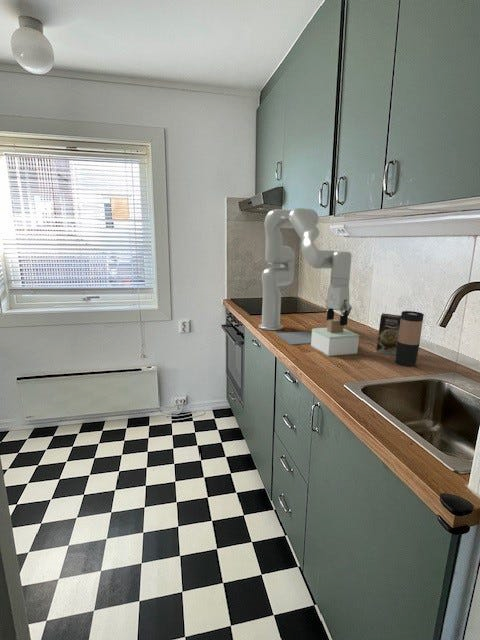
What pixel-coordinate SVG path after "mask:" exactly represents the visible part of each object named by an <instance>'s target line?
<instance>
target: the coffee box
mask: <svg viewBox="0 0 480 640" xmlns="http://www.w3.org/2000/svg"><path fill="white" fill-rule="evenodd" d="M400 320H401V314H400V315H399V314H391V313H384V312H383V313H381V315H380V321H379V328H378V333H377V335H378V336H377V341H376V350H375V353H377V354H379V353H380V354H384V355H391V356H396V350H397V341H398V334H399V327H400Z"/></svg>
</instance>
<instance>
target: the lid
mask: <svg viewBox="0 0 480 640" xmlns="http://www.w3.org/2000/svg"><path fill="white" fill-rule="evenodd" d="M344 326H345V325H340V318H337V319H336V318H334V319H332V320H327V326H326V327H315V328H312V329H311V332H312V331H314V332H316V333H318V334H320V335H322V336H324V337H326V338H328V339H343V338H356V337H359V338H360V334H357V333H355V332H353V331H350V330H348V329H345V328H344Z"/></svg>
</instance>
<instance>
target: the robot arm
mask: <svg viewBox="0 0 480 640" xmlns="http://www.w3.org/2000/svg"><path fill="white" fill-rule="evenodd" d="M319 221H320V219H319V215H318V213H317V211H316V210H315V209H311V208H304V207H302V208H301V207H297V208H294V209H292V210H290V209H281V208H275V209H272V210H270V211H268V212H267V214H266V216H265V219H264V222H263V223H264V233H265V245H264V246H265V249H264V251H265V254H264V256H265V257H264V258H265V262H266V264H268V265H273V266H274V265H275V267H268V268H265V269H264V270H262V273H261V284H262V285H261V286H262V304H261V305H262V309H261V323H259V324H258V328H259V329H261V330H264V331H280V330H282V329H283V327H284V326H283V325H282V324H280V322H281V307H282V306H281V305H282V293H281V290H280V288H279V287H281V286H288V285H291V284H292V282H293V281H294V278H295V277H294V276H295V261H296V259H295V252H294V250H293V248H292V247H290V246H287V245H283V244H284V243H283V240H284V239H283V234H282V231H281V230H280V229H294V231H295V232H296V234H297V235H298V236H299V238H300V239H301V244H300V245H301V247H300V249H301V254H302V256H303V257H304V259H305V261H306V262H307V263H308V265H309V266H310V267H311V268H313V269H318V270H319V269H320V270H321V269H330V283H329V287H328V290H327V295H326V299H325V307H326V321H328V320H332V319H335V311H339V312H340V314H341V315H339V316H340V317H339V319H340V325H344V326H347V325H348V317H349V316H350V313H351V311H352V308H353V306H352V305H351V304H350V280H351V279H350V278H351V266H352V253H351V252H349V251H340V250H339V251H336V250H325V249H323V250H321V249H320V250H319V248H318V247H317V246H316V245H315V242H314V241H316V240H317V238H318V237H319V236H320V229H319V227H317V225H318V223H319ZM276 265H277V266H276ZM279 265H280V267H278V266H279Z"/></svg>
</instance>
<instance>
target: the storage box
mask: <svg viewBox="0 0 480 640" xmlns="http://www.w3.org/2000/svg"><path fill="white" fill-rule="evenodd" d="M311 333H312V338H311V344H310V346H311V348H313V349H315V350H317V351H319V352H321V353H322V354H324V355H326V356H328V357H331V356H332V357H333V356H343V355H355V354H358V348H359V340H360V336H359V337H356V338H343V339H328V338H326V337H324V336H322V335H320V334H318V333H316V332H314V331H312V330H311Z"/></svg>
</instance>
